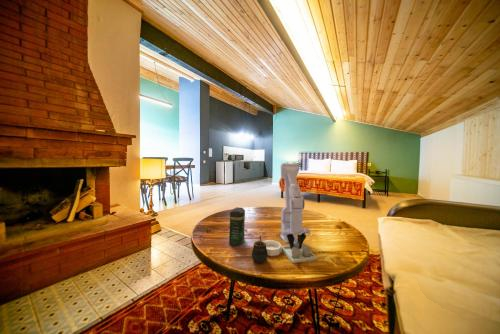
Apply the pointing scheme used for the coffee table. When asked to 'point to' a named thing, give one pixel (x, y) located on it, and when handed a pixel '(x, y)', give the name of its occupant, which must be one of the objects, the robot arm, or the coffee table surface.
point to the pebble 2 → (306, 251)
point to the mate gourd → (259, 252)
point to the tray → (288, 253)
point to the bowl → (273, 247)
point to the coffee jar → (237, 226)
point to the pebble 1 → (295, 252)
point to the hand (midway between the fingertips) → (295, 248)
